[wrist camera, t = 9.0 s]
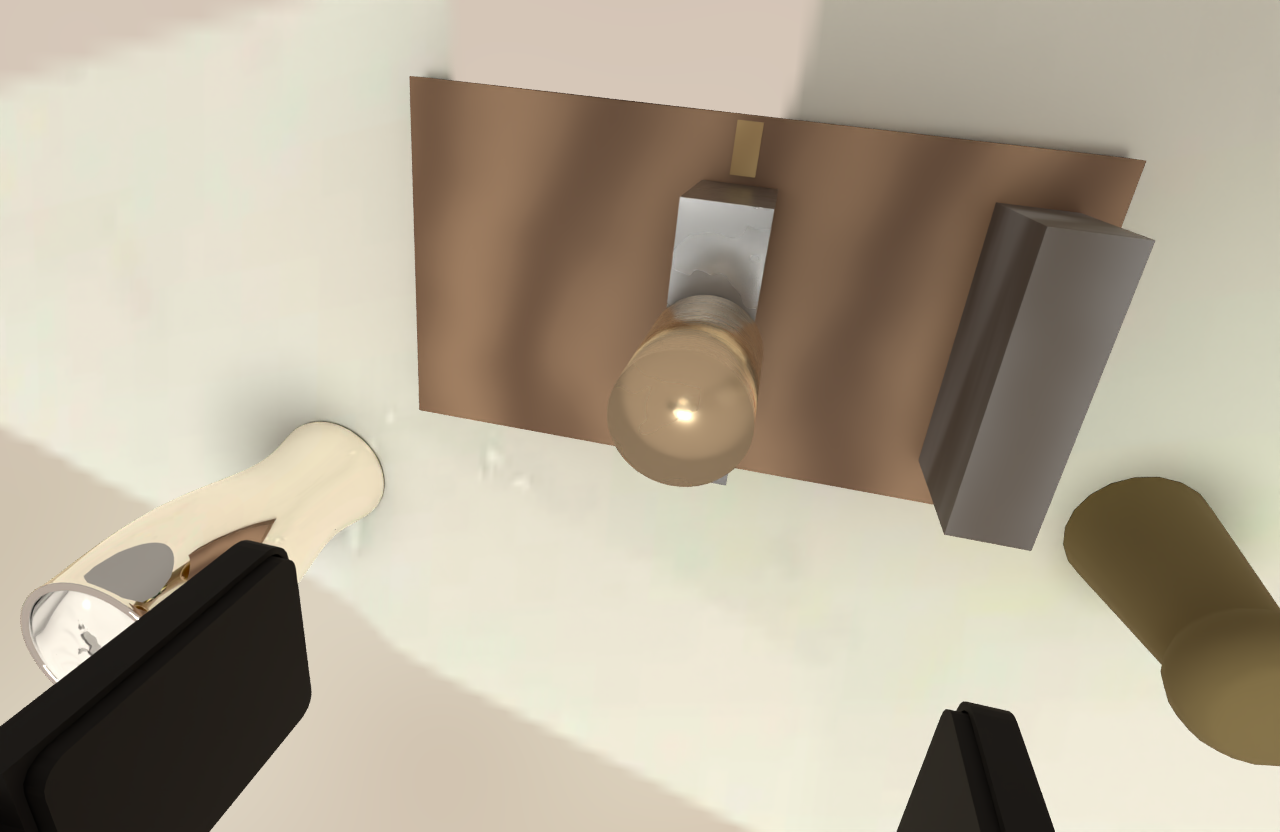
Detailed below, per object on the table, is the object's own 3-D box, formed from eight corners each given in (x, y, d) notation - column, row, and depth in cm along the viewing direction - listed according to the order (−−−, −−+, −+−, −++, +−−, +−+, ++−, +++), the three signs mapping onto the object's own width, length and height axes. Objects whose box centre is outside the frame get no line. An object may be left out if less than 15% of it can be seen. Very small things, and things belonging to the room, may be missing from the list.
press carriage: (791, 190, 28) (789, 244, 17) (748, 423, 32) (724, 586, 21) (689, 177, 28) (624, 222, 17) (660, 407, 32) (593, 558, 21)
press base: (1128, 158, 27) (1242, 175, 20) (1002, 501, 33) (1056, 604, 26) (426, 77, 30) (321, 69, 24) (433, 398, 37) (351, 464, 30)
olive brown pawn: (1084, 468, 31) (1217, 635, 22) (1237, 485, 30) (1450, 668, 21) (1047, 581, 34) (1152, 776, 24) (1188, 600, 33) (1358, 812, 23)
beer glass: (275, 501, 41) (25, 691, 28) (280, 396, 38) (1, 553, 25) (385, 540, 41) (185, 752, 27) (399, 437, 38) (181, 619, 24)
